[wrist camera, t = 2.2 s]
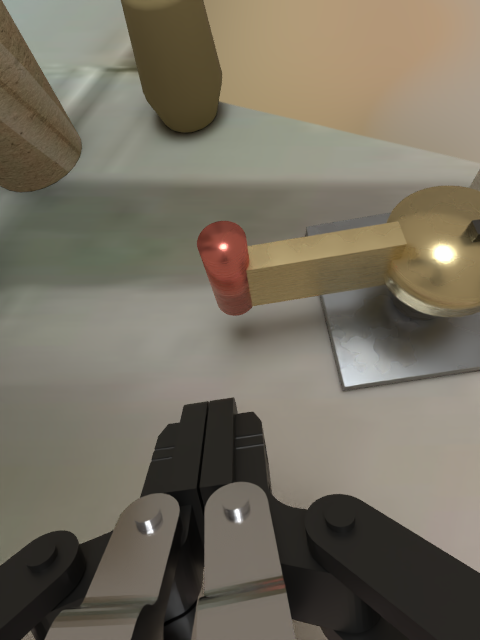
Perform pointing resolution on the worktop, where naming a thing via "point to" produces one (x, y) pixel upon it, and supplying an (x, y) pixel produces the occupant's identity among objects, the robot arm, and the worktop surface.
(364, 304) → the stand
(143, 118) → the worktop surface
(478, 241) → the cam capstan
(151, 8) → the squeeze bottle
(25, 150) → the tube
